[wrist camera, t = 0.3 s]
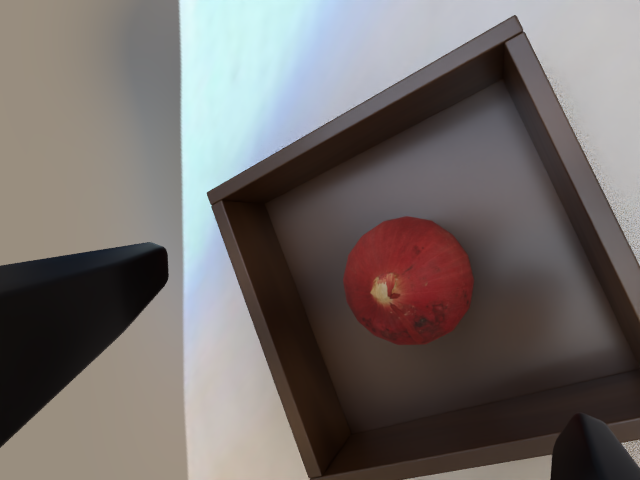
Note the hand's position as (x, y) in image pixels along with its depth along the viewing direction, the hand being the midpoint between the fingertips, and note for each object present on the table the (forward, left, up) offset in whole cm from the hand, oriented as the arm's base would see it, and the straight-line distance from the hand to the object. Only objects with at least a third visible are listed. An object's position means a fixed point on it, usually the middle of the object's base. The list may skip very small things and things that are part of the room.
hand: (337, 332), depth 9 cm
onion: (0, +1, -15) cm, 15 cm away
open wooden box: (0, +1, -15) cm, 15 cm away
